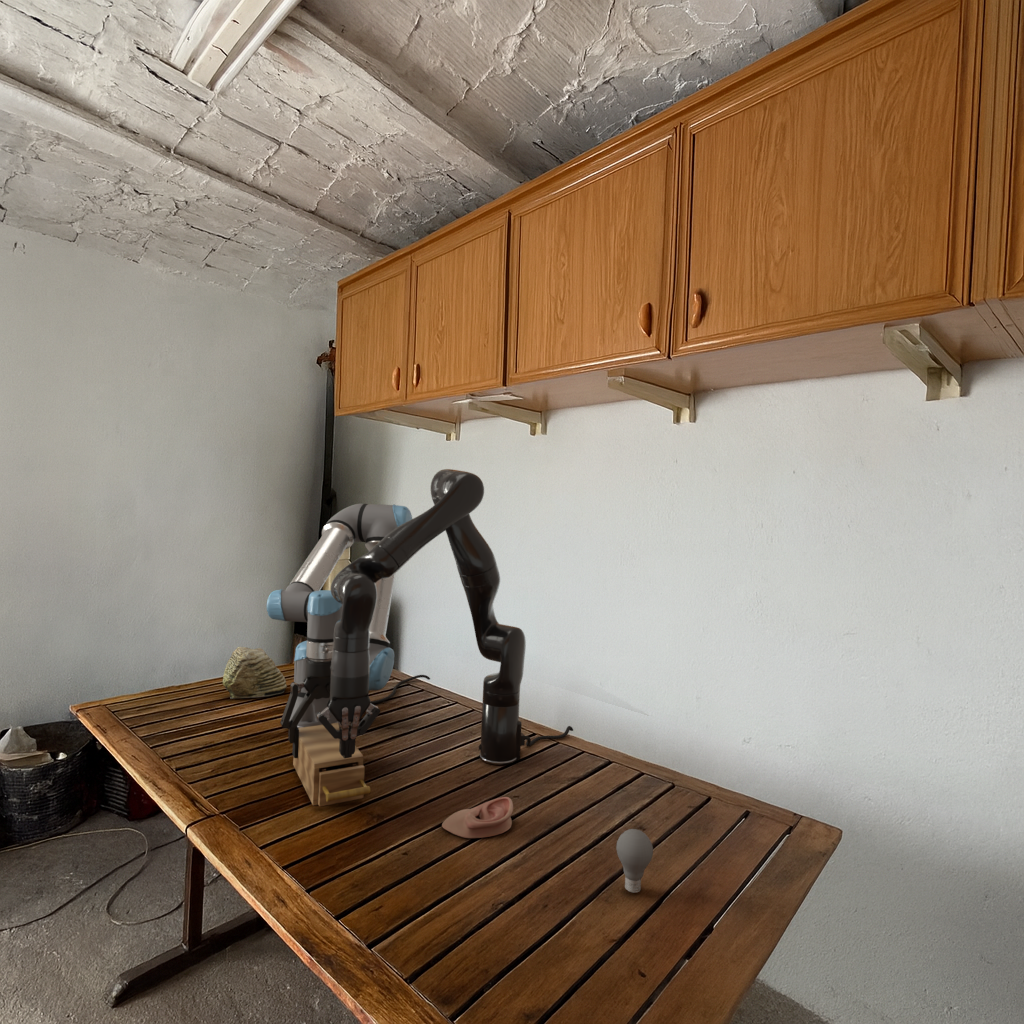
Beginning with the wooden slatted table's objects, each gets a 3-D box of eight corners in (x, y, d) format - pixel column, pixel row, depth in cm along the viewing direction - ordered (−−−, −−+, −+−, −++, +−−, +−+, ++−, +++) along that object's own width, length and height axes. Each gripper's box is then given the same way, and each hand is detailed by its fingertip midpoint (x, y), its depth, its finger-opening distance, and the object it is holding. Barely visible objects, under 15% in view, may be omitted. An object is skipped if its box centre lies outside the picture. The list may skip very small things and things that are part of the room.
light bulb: (610, 879, 108) (613, 822, 108) (644, 879, 109) (647, 822, 109) (619, 902, 102) (622, 840, 102) (655, 901, 103) (658, 840, 103)
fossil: (218, 695, 195) (220, 647, 195) (278, 685, 208) (279, 640, 207) (228, 703, 189) (230, 653, 188) (289, 692, 201) (290, 645, 201)
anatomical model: (437, 813, 121) (454, 787, 132) (436, 833, 121) (454, 805, 132) (505, 823, 118) (517, 795, 129) (504, 844, 118) (516, 815, 129)
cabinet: (361, 796, 135) (363, 756, 135) (312, 805, 130) (314, 764, 130) (336, 757, 154) (338, 722, 154) (293, 764, 149) (294, 728, 149)
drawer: (371, 809, 127) (372, 777, 127) (325, 818, 123) (326, 785, 123) (338, 760, 150) (340, 733, 149) (299, 767, 145) (300, 739, 145)
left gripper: (274, 666, 139) (270, 766, 139) (375, 657, 150) (371, 750, 150) (268, 658, 145) (265, 754, 146) (366, 650, 156) (362, 739, 157)
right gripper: (320, 679, 120) (317, 769, 121) (388, 672, 127) (384, 758, 127) (312, 669, 127) (309, 754, 127) (376, 663, 133) (373, 744, 134)
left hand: (319, 752), depth 148 cm, fingers closed on cabinet, 10 cm apart
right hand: (346, 756), depth 127 cm, fingers closed
